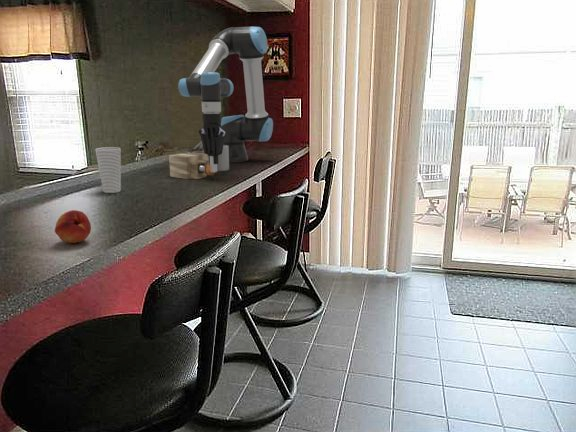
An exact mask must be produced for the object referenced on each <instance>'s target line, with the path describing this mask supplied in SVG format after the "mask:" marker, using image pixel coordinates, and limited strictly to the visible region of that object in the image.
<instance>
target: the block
mask: <svg viewBox="0 0 576 432" xmlns="http://www.w3.org/2000/svg"><path fill="white" fill-rule="evenodd" d="M192 149H193V148H188V152H183V153H182V152H181V153H176V154H170V155H168V159H169V160H168V162H169V175H170V176H169V177H171V178H177V179H179V178H180V179H185V180H188V179H195V180H198V179H199V180H200V179H204V178H207V176H208V175H206V173H205V172H200V171H198V165H203V166H206V165H207V164H210V163H209V156H208V155H207V154H205V153H204V150H203V148H202V149H201V150H200V151H195V152H193V151H192Z"/></svg>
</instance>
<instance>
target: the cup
mask: <svg viewBox="0 0 576 432" xmlns="http://www.w3.org/2000/svg"><path fill="white" fill-rule="evenodd" d="M94 151H95V155H96V162H97V167H98V173H99V178H100V182H101V187H102V188H101V189H102V191H103V193H105V194H113V193H119V192H121V191H122V185H121V183H122V177H121V176H122V175H121V174H122V173H121V172H122V168H121V167H122V162H121V161H122V159H121V158H122V157H121V156H122V154H121V153H122V152H121V151H122V149H121V147H117V146H106V147H96V148H95V149H94Z"/></svg>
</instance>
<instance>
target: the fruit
mask: <svg viewBox="0 0 576 432" xmlns="http://www.w3.org/2000/svg"><path fill="white" fill-rule="evenodd" d="M91 230H92V225H91V222H90V219H89V217H88V215H86V213H84V212H83V211H80V210H75V209H73V210H68V211H66V212H64V213H63V214H61V215H60V216H59V217H58V219H57V221H56V223H55V227H54V233H55V234H56V235H57V237H58V238H59V239H60V240H61V241H62V242H65V243H68V244H77V242H78V243H80V242H83V241H84V240H86V239H87V238H88V237H89V235H90V234H91V232H92V231H91Z"/></svg>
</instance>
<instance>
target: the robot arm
mask: <svg viewBox="0 0 576 432" xmlns="http://www.w3.org/2000/svg"><path fill="white" fill-rule="evenodd" d="M267 38H268V37H267V35H266V32H265V31H264V29H263V28H262V27H260V26H239V27H237V26H236V27H235V26H233V27H228V28H226V29H224V30H221V31H220V32H218V33H217V34H216V35H215V36H214V37H213V38H212V39H211V41H210V42H209V44H208V49H207V50H206V52H205V53H204V55H203V57H202V58H201V59H200V60H199V62H198V64H197V65H196V66H195V68H194V69H193V70H192V73H191V74H190V76H189V77H185V78H184V77H183V78H181V79H179V81H178V84H177V85H178V86H177V87H178V91H179V94H180V95H181V96H182V97H184V98H185V97H189V98H196V97H197V98H201V112H202V114H201V117H202V119H201V120H202V123H203V125H202V128H201V129H199V130H198V133H199V135H200V138H201V140H200V141H202V144H203V148H202V150H203V151H204V153H205V154H207V155H208V156H209V163H210V172H216V173H218V171H217V164H218V155H221V154H222V151H223V145H228V148H229V163H244V162H248V161H249V155H248V153H247V150H246V146H245V142H259V143H260V142H268V141H269V140H270V139H271V138H272V134H273V131H274V130H273V129H274V121H273V118H271V117H269V113H268V112H267V111H266V109H265V108H266V107H265V93H264V83H263V82H264V81H263V70H262V69H263V68H262V61H263V59H264V58H265V55H264V54H267V51H268V39H267ZM234 54H235V55H238V56H239V57H238V58H239V60H240V61H241V62H242V64H243V65H242V67H243V74H244V75H243V77H244V78H243V79H244V87H245V88H244V89H245V96H246V108H247V112H246V113H245V115H244V114H238V115H230V116H223V117H222V114H221V112H222V103H221V99H222V98H228V97H230V96H231V95H232V94H233V92H234V83H233V82H232V81H231V80H230V79H228V78H226V77H222V78H221V74H220V73H219V72H215V71H216V70H217V69H218V67H219V65H220V64H221V62H222V61H223V60H224V59H226V58H227V57H228V56H230V55H234Z"/></svg>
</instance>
